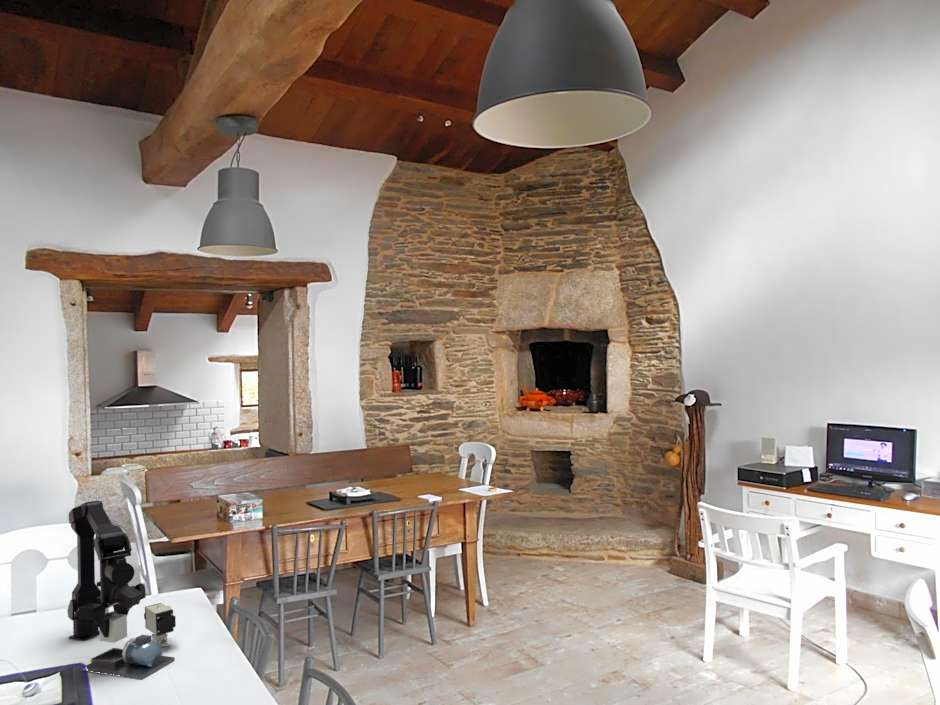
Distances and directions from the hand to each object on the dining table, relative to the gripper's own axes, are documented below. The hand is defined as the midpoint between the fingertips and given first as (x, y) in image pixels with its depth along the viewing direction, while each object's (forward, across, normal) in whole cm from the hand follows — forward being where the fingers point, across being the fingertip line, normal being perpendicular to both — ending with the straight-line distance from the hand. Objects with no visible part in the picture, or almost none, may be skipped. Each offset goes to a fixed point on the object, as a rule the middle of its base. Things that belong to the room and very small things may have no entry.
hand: (113, 633), depth 201 cm
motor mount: (+8, 0, -5) cm, 10 cm away
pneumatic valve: (+8, +14, -4) cm, 17 cm away
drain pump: (+1, 0, 0) cm, 1 cm away
